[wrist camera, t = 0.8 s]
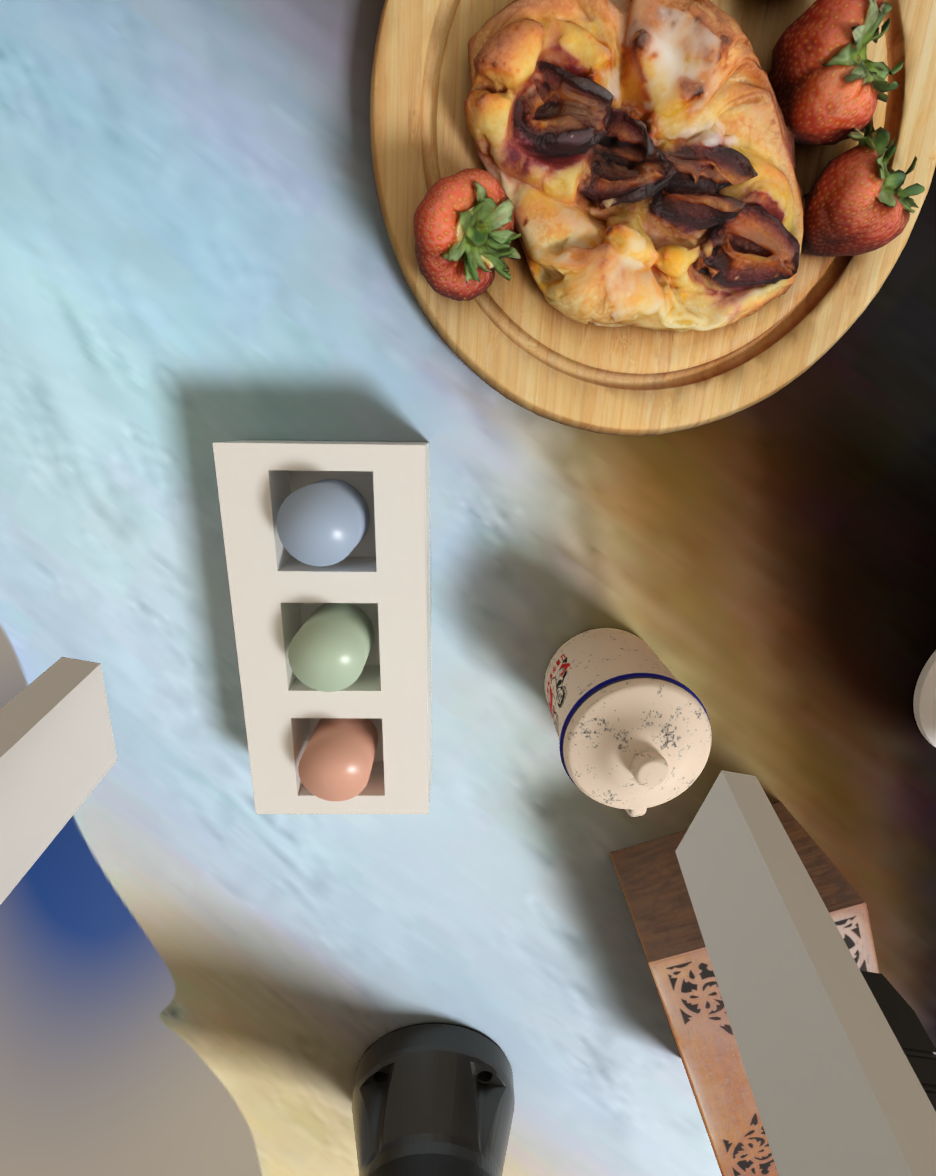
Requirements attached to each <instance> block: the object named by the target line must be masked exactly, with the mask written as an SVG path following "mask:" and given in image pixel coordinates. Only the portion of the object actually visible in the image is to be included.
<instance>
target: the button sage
mask: <svg viewBox="0 0 936 1176" xmlns="http://www.w3.org/2000/svg"><path fill="white" fill-rule="evenodd" d="M373 642H374V628H373V625H372V622H371V620H370V618H369V617H368V616H367V614H366V613H365V612H364V611H363V610H361V609H360V608H359V607H357V606H355V605H353V604H351V603H326V604H323V605H321V606H320V607H318V608H317V609H316V610H315V611H314V612H313V613H312V614H311V615H310V617H309V618H308V619H307V620H306V622H305V623H304V624H303V626H302V627H301V628H300V629H299V631H298V632H297V633H296V634H295V636H294V637H293V639H292V641H291V643H290V646H289V651H288V659H289V664H290V667H291V669H292V671H293V673H294V674H295V676H296V677H297V678H298V679H299V680H300V681H301V682H302V683H304V684H305V685H307V686H308V687H310V688H312V689H315V690H318V691H323V692H334V691H339V690H343V689H345V688H347V687H349V686H350V685H352V684H353V683H354V682H355V681H356V680H357V679H358V678H359V676H360V674H361V672H362V670H363V668H364V665H365V663H366V660H367V658H368V655H369V653H370V650H371V648H372V645H373Z"/></svg>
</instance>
